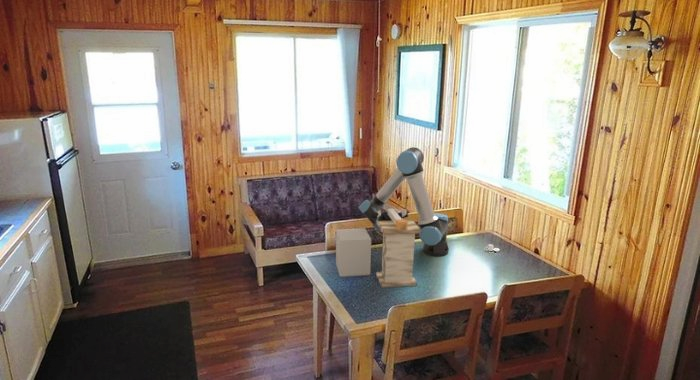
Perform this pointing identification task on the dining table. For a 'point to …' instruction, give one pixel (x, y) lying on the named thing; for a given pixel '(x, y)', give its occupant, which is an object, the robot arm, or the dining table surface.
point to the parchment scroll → (397, 254)
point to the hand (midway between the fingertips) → (392, 212)
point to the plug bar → (397, 220)
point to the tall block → (353, 252)
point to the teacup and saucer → (490, 248)
